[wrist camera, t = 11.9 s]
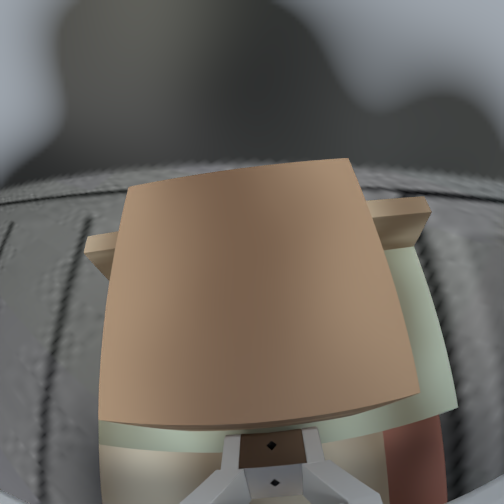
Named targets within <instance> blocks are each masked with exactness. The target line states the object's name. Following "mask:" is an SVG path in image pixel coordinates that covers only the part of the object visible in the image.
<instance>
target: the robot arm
mask: <svg viewBox="0 0 504 504" xmlns="http://www.w3.org/2000/svg"><path fill="white" fill-rule="evenodd" d="M295 495H303V496H304V497H305V498H306V499H307V500H308V501H309V502H310V503H311V504H383V503H382V500H381V497H380V494H379V493H378V492H376V491H374V490H373V489H371V488H370V487H368V486H367V485H365V484H364V483H362V482H361V481H359V480H358V479H356V478H355V477H353V476H352V475H351V474H349V473H348V472H346V471H345V470H343V469H342V468H341V467H339V466H338V465H336V464H335V463H334V462H332V461H331V460H325V457H324V453H323V449H322V444H321V440H320V436H319V431H318V428H317V427H316V426H314V427H307V428H301V429H294V430H286V431H277V432H269V433H253V434H234V435H226V436H225V438H224V446H223V454H222V462H221V470H215V471H214V472H213V473H212V474H211V475H210V476H209V477H208V478H207V479H206V480H205V481H204V482H203V483H202V484H201V485H199V486H198V487H197V488H196V489H195V490H194V491H193V492H192V493H191V494H189V495H188V496H187V497H186V498H185V499H184V500H183V501H181V502H180V503H179V504H249V503H250V502H251V499H261V498H272V497H283V496H295ZM0 504H30V503H28V502H26V501H23V500H21V499H19V498H17V497H15V496H13V495H10V494H8V493H6V492H4V491H2V490H1V489H0ZM445 504H504V474H502V475H501V476H499V477H497V478H495V479H494V480H492V481H490V482H488V483H486V484H485V485H483V486H481V487H479V488H477V489H475V490H473V491H471V492H469V493H467V494H465V495H463V496H460V497H458V498H456V499H454V500H452V501H449V502H447V503H445Z"/></svg>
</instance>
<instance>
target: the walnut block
mask: <svg viewBox="0 0 504 504" xmlns="http://www.w3.org/2000/svg"><path fill="white" fill-rule="evenodd" d="M418 393H420V387H419V382H418V377H417V372H416V367H415V363H414V358H413V354H412V349H411V345H410V341H409V337H408V332H407V328H406V325H405V321H404V317H403V313H402V309H401V306H400V302H399V299H398V295H397V292H396V288H395V285H394V282H393V278H392V275H391V272H390V269H389V265H388V262H387V259H386V256H385V253H384V250H383V247H382V244H381V241H380V238H379V236H378V233H377V230H376V227H375V224H374V222H373V219H372V216H371V213H370V211H369V208H368V206H367V203H366V200H365V198H364V195H363V193H362V190H361V188H360V185H359V183H358V180H357V178H356V175H355V173H354V171H353V168H352V166H351V164H350V161H349V159H348V158H343V159H328V160H315V161H304V162H293V163H283V164H274V165H265V166H256V167H248V168H240V169H233V170H225V171H218V172H211V173H205V174H198V175H192V176H186V177H180V178H174V179H168V180H163V181H157V182H152V183H146V184H141V185H136V186H131V187H129V188H128V192H127V196H126V200H125V204H124V209H123V213H122V218H121V222H120V227H119V232H118V237H117V242H116V247H115V252H114V258H113V264H112V270H111V276H110V282H109V289H108V296H107V303H106V311H105V320H104V329H103V339H102V350H101V363H100V380H99V409H98V420H102V421H108V422H113V423H120V424H126V425H133V426H141V427H149V428H158V429H168V430H180V431H228V430H246V429H260V428H271V427H281V426H290V425H298V424H305V423H312V422H319V421H325V420H331V419H337V418H342V417H348V416H352V415H356V414H359V413H363V412H366V411H369V410H373V409H376V408H379V407H382V406H385V405H388V404H391V403H394V402H397V401H399V400H402V399H405V398H408V397H410V396H413V395H416V394H418Z"/></svg>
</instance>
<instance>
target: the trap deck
mask: <svg viewBox="0 0 504 504" xmlns="http://www.w3.org/2000/svg"><path fill="white" fill-rule="evenodd" d="M366 203H367V206H368V208H369V211H370V213H371V216H372V219H373V222H374V224H375V227H376V230H377V233H378V236H379V238H380V241H381V244H382V247H383V250H384V253H385V256H386V259H387V262H388V265H389V269H390V272H391V275H392V278H393V282H394V285H395V288H396V292H397V295H398V299H399V302H400V306H401V309H402V313H403V317H404V321H405V325H406V328H407V332H408V337H409V341H410V345H411V349H412V354H413V358H414V363H415V367H416V372H417V377H418V382H419V387H420V393H418V394H416V395H413V396H410V397H408V398H405V399H402V400H399V401H397V402H394V403H391V404H388V405H385V406H382V407H379V408H376V409H373V410H369V411H366V412H363V413H359V414H356V415H352V416H348V417H342V418H337V419H331V420H325V421H319V422H312V423H305V424H298V425H290V426H281V427H271V428H260V429H246V430H228V431H180V430H168V429H158V428H149V427H141V426H133V425H126V424H120V423H113V422H108V421H102V420H99V465H100V482H101V494H102V504H179V503H180V502H181V501H183V500H184V499H185V498H186V497H187V496H188V495H189V494H191V493H192V492H193V491H194V490H195V489H196V488H197V487H198V486H199V485H201V484H202V483H203V482H204V481H205V480H206V479H207V478H208V477H209V476H210V475H211V474H212V473H213V472H214V471H215V470H221V462H222V454H223V446H224V438H225V436H226V435H234V434H253V433H269V432H277V431H286V430H294V429H301V428H307V427H314V426H316V427H317V428H318V431H319V436H320V440H321V444H322V449H323V453H324V457H325V460H331V461H332V462H334V463H335V464H336V465H338V466H339V467H341V468H342V469H343V470H345V471H346V472H348V473H349V474H351V475H352V476H353V477H355V478H356V479H358V480H359V481H361V482H362V483H364V484H365V485H367V486H368V487H370V488H371V489H373V490H374V491H376V492H378V493H379V494H380V497H381V500H382V503H383V504H445V503H447V482H446V469H445V458H444V448H443V440H442V432H441V425H440V418H439V414H441V413H444V412H447V411H450V410H453V409H455V408H458V404H457V398H456V393H455V388H454V383H453V378H452V373H451V368H450V364H449V360H448V355H447V351H446V347H445V343H444V339H443V335H442V332H441V328H440V324H439V321H438V317H437V314H436V311H435V307H434V304H433V301H432V297H431V294H430V291H429V288H428V285H427V282H426V279H425V276H424V273H423V270H422V268H421V265H420V262H419V259H418V256H417V254H416V251H415V248H414V245H415V243H416V241H417V239H418V238H419V236H420V234H421V232H422V230H423V228H424V226H425V224H426V222H427V220H428V218H429V216H430V214H431V210H430V207H429V205H428V203H427V201H426V199H425V197H424V196H422V197H408V198H395V199H382V200H370V201H366ZM118 232H119V231H118ZM118 232H112V233H106V234H100V235H94V236H88V238H87V242H86V246H85V250H84V254H85V255H86V256H87V257H88V258H89V260H90V261H91V262H92V263H93V264H94V265H95V266H96V267H97V268H98V269H99V270H100V272H101V273H102V274H103V275H104V276H105V277H106V278H107V279H108V280H109V281H110V276H111V270H112V264H113V258H114V252H115V247H116V242H117V237H118ZM249 504H311V503H310V502H309V501H308V500H307V499H306V498H305V497H304V496H303V495H295V496H283V497H272V498H261V499H251V502H250V503H249Z"/></svg>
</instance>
